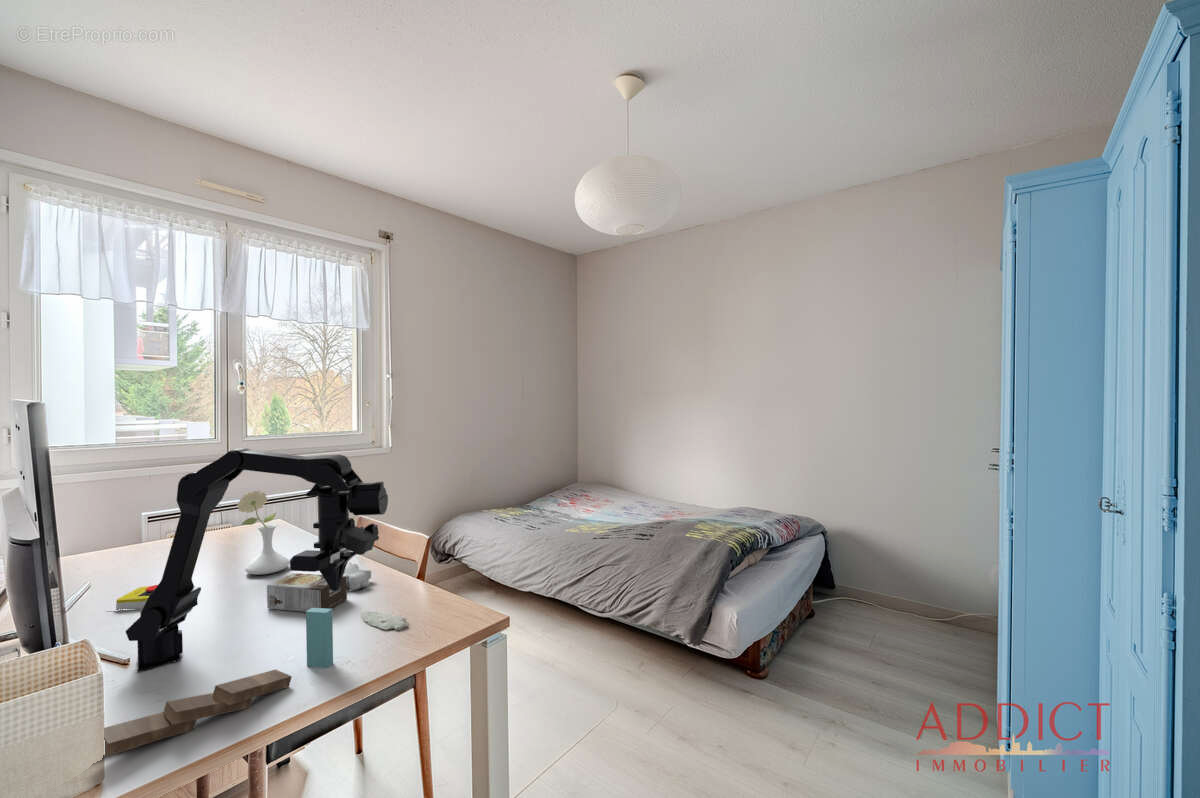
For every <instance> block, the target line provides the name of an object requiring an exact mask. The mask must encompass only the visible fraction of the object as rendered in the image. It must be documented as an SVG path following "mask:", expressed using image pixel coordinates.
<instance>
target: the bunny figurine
mask: <svg viewBox="0 0 1200 798" xmlns="http://www.w3.org/2000/svg"><path fill="white" fill-rule="evenodd" d="M343 576H346V584H347V588H348V591H349V590H351V591H350V592H354V591H355V590H359V589H361V588H366V587H368V586H369V583H370V581H369V580H371V578H372V571H371V570H369V569H360V568H359V565H358V564H357V563H352V562H349V561H348V563H347V565H346V568H345V571H344V574H343Z"/></svg>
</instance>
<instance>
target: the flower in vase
mask: <svg viewBox="0 0 1200 798" xmlns="http://www.w3.org/2000/svg"><path fill="white" fill-rule="evenodd" d="M267 499H268V497H267V494H266V492H265V491H263V492H261V490H253V492H251V491H249V492H248V493H247V494H244V495H243V496H242V497H241V498H240V499H239V502H237V503H236V507H237V509H238V511H239V512H240V513H241V512H242V513H246V514H247V513H248V514H249V513H253V512H254V511H255V514H256V517H249V518H247V519H245V520H244V521H243V522H242V523H241V525H242V526H243V525H245V526H248V525H249V526H250V525H254V524H256V522H258V521H259V522H260V523H261V524H262V525H259V526H257V529H258V530H259V532H260V534H261V537H262V551H260V553H259V554H258V555H257V556H256V557H255V558H253V559H251V561H250V562H249V563H248V564H247V565H246V566H245V569H244V571H245V573H247V574H250V575H256V576H258V575H259V576H261V575H262V576H263V575H269V574H273V573H274V574H275V573H276V572H277V573H278V572H280V571H282V570H285V569H286V568H288V567H289V566H290V559H289V558H288V557H286V556H285V555H284V554H283V555H282V554H281V553H279V552H277V551H276V550H274V547H273V534H274V531H275V529H276V528H277V526H278V524H275V523H270V524H265V523H268V522H271V521H273V520H274V518H276V514H277V512H274V513H272V514H270V515H268V516H266V517H265V518H264V519H263V521H262V520H261V519H260V517H259V514H258V510H259V509H262V508H263V506H265V504H266V503H267V502H268V500H267Z"/></svg>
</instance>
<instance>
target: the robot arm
mask: <svg viewBox="0 0 1200 798" xmlns="http://www.w3.org/2000/svg"><path fill="white" fill-rule="evenodd" d="M244 471H251V472H259V473H266V474H275V475H284V476H292V477H293V476H294V477H297V478H300V479H303V480H304V481H307V482H309V483H312V484H314V485H313V487H312V488H310V490H308V492H306V493H305V495H306V497H317V521H316V522H314V523H313V524H312V526H313V527H312V528H313V529H317V530H318V541H316V542H314V543H313V549H319V550H311V549H310V550H308V549H305V550H304V551H302V552H299V553H297V554H294V555H293V556H292V557H291V558H290V559H289V561H290V564H289V571H291V572H309V573H310V572H311V573H314V572H319V573H320V575H322V576H323V577H324V579H325V580H326V582H327V584H328V585H329V587H330V588H331V590H332V591H336V590H338V589H339V587H340V583H341V580H342V577H343V574H344V571H345V568H346V565H347V563H349V561H351V560H352V558H353V557H355V556H356V555H361V556H362V555H365V553H367V552H369V551H371V550H373V549H374V546H375V545H374V544H375V542H376V541H378V540H379V539H380V537H379V528H378V527H379V526H378V525H377V524H375V523H370V524H367V525H366V526H365V527H364V526H361V527H359V526H356V525H355V524H356V523H355V522H356V521H355V520H354V517H350V514H353V516H375V515H377V516H378V515H379V516H381V515H385V514H386V512H387V509H388V503H389V495H388V493H387V489H386V488H385V487H384V486H385V483H384V481H375V482H364V481H363V480H362V479H361V478H360V476H359V475H358V474H357V473H356V471H355V470H354V469H353V468H352V464H351V461H350V460H349V458H348V456H346V455H342V454H324V455H323V454H322V455H321V454H320V455H311V456H310V455H309V456H303V455H294V454H288V453H287V454H286V453H278V452H277V453H276V452H272V451H270V452H269V451H263V450H262V451H261V450H260V451H259V450H254V449H253V450H252V449H251V448H246V447H244V448H243V447H242V448H236V449H232V450H229V451H227V452H226V453H225V454H223V455H222V456H221V457H219V458H218V459H216V460H214V461H212V462H211V463H209V464H207V465H205V466H204V467H202V468H201V469H199V470H196V471H195V472H190V473H187V474H185V475H183V476H182V477H181V478H180V479H179V481H178V484H177V489H176V490H177V491H176V502H177V505H178V508H179V511H180V516H179V519H178V521H177V525H176V529H175V533H174V535H173V540H172V541H171V542H172V543H171V546H170V550H169V554H168V556H167V560H166V563H165V567H164V570H163V574H162V577H161V580H160V582H159V583H158V584H157V585H158V586H157V587H156V588H155V589H154V591H153V592H152V593H151V594H150V596H149V597H148V599H147V601H146V603H145V605H144V607H143V609H141V611H140V617H138V619H136V620H135V621H134V622H133V623H132V624H131V625H130V627H128V628H127V629H126V630H125V635H126V637H127V639H128V641H130V642H137V660H136V661H137V662H136V672H137V673H138V672H143V671H147V670H149V669H153V668H156V667H157V668H158V667H161V666H164V665H168V664H172V663H175V662H178V661H180V660H181V655H182V654H183V651H184V650H183V648H184V647H183V630H182V629H179V624H181V623H182V622H184V621H186V618H187V615H188V614H189V613H190V612H191V611H192V610H193V609H194V607H196V606H198V604H199V603H198V599H199V595H200V593H201V591H202V587H200V586H195V585H194V582H193V575H194V571H195V568H196V564H197V561H198V558H199V554H200V550H201V547H202V544H203V540H204V537H205V534H206V531H207V527H208V523H209V520H210V517H211V514H212V513H213V511H214V510H215V509H216V507H217V506H218V505H219V503H220V502H221V501H222V500H223V498H224V495H226V492H227V489H228V488H229V486H230V483H231V482H232V481H233V480H235V479H236V478H237V477H239V476H240V475H241V474H242V472H244Z"/></svg>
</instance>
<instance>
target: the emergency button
mask: <svg viewBox="0 0 1200 798" xmlns="http://www.w3.org/2000/svg"><path fill="white" fill-rule="evenodd" d="M157 586H158V584H154V585H149V586H146V585H145V586H140V587H137V588H136V589H134V590H131V591H130V592H128V593H126V594H124V595H123V596H120V597H119V598H117V599H116V601H115V605H116V610H119V609H120V610H121V609H122V610H123V609H140V610H142V609H143V607H144V605H145V603H146V601H147V599H148V597H149V596H150V594H151V593H152V592H153V591H154V589H155V588H156V587H157Z"/></svg>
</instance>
